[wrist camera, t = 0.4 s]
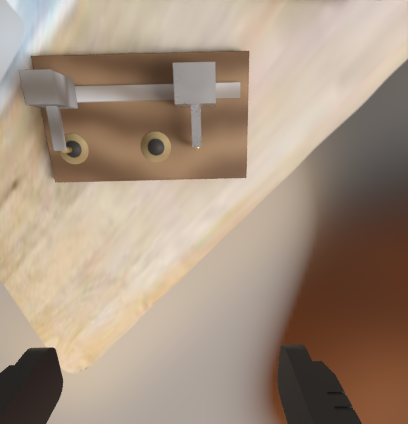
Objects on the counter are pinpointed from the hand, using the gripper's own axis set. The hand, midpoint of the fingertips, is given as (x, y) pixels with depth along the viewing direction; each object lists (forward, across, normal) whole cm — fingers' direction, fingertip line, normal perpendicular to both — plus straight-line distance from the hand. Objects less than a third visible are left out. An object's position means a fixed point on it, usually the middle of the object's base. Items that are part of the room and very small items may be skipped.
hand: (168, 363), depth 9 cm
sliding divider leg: (+24, -1, -10) cm, 26 cm away
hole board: (+26, +5, -9) cm, 28 cm away
